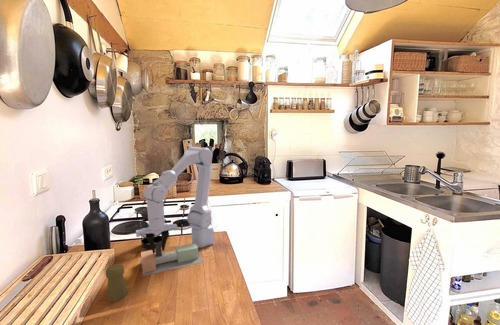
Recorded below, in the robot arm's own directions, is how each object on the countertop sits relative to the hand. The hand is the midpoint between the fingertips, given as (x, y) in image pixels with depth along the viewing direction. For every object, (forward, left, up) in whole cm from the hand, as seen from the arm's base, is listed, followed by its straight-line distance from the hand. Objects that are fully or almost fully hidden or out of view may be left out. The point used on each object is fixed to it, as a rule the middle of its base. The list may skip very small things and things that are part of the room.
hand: (158, 250), depth 103 cm
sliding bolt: (-3, 0, -5) cm, 6 cm away
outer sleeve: (-11, 0, -5) cm, 12 cm away
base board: (-5, 0, -6) cm, 8 cm away
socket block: (+4, 0, -5) cm, 7 cm away
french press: (0, -18, -7) cm, 19 cm away
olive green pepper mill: (+14, +14, -7) cm, 21 cm away
